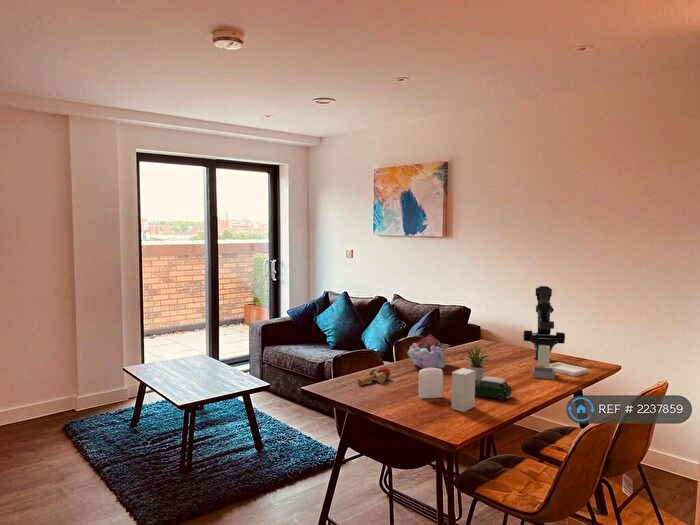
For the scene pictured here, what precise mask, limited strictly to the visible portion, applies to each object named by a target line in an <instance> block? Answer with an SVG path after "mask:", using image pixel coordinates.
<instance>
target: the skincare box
mask: <svg viewBox="0 0 700 525" xmlns="http://www.w3.org/2000/svg"><path fill="white" fill-rule="evenodd" d="M451 373H452V375H451V407H450V408H451V410H456V411H458V412H462V413H466V412H467V411H469V410H471V409H473V408H475V401H476V399H475V398H476V397H475V396H476V395H475V371H474V370H470V369H469V368H465V367H462V368H459V369H456V370H455V371H452V372H451Z"/></svg>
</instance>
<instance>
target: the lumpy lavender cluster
mask: <svg viewBox="0 0 700 525" xmlns="http://www.w3.org/2000/svg"><path fill="white" fill-rule="evenodd" d="M450 347H452V345H451V344H446V343H441V342H440V341H439V340H438V339H436V337H435V336H434V335H432V334H431V333H430V334H428V335H426V337H423V338H422V339H421V340H419V341H418V342H413V343H412V345H410V346H409V349H408V351H407V355H408V357H409V358H410V359H411V361H412V363H413V365H416V366H417V367H419V368H420V369H425V368H438V369H441V370H442V369H443V368H444V367H445V365H446V360H445V358H444V357H445V354H444V352H443V351H445V350H446V349H448V348H450Z"/></svg>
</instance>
